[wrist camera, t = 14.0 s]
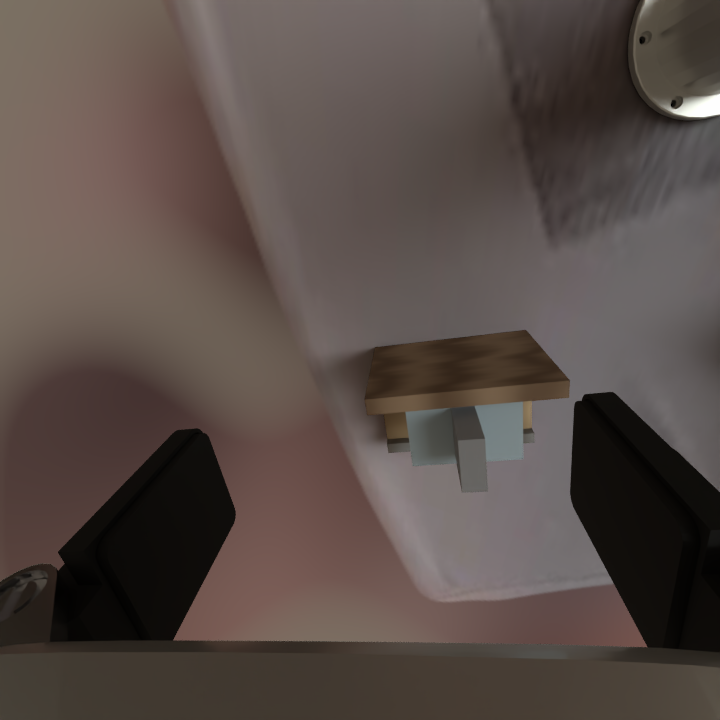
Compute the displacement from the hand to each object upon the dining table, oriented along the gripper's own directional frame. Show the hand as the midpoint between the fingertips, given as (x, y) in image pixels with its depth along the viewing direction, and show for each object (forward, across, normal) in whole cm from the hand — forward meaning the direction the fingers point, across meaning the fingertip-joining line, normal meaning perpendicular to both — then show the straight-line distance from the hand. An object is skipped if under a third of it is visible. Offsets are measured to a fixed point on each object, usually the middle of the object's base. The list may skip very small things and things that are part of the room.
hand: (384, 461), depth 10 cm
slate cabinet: (+30, -4, +14) cm, 34 cm away
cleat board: (+32, -4, +16) cm, 36 cm away
